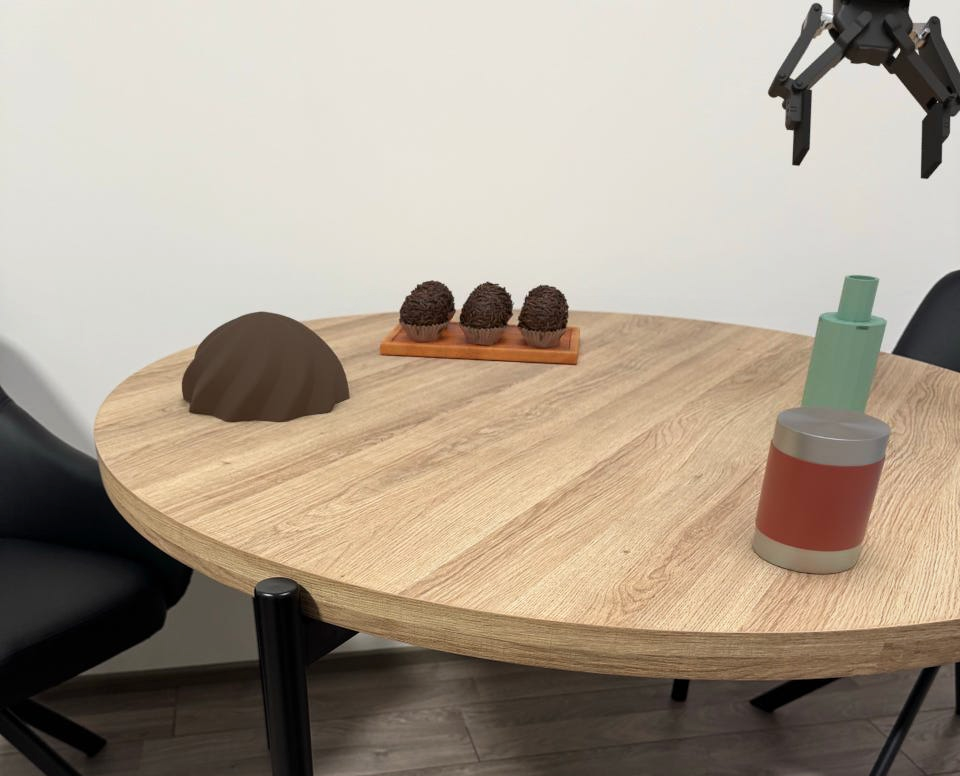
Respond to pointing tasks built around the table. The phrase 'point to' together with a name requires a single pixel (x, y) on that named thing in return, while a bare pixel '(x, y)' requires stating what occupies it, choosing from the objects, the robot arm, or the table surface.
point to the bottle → (846, 349)
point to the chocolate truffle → (484, 326)
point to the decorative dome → (263, 371)
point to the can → (819, 488)
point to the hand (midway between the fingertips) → (866, 164)
